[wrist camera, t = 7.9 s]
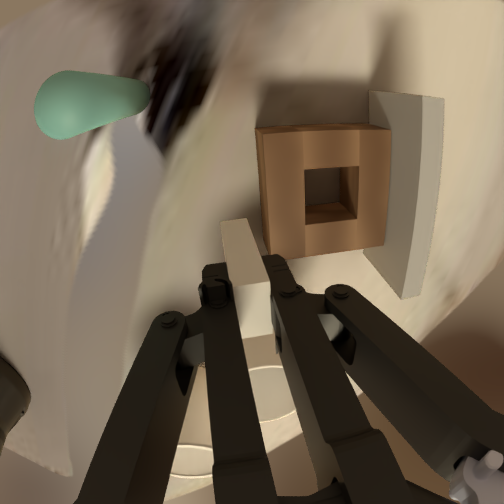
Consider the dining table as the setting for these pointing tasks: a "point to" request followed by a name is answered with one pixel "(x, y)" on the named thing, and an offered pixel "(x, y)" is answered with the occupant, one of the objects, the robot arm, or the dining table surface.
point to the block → (332, 214)
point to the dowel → (86, 102)
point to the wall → (408, 186)
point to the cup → (267, 378)
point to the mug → (195, 435)
